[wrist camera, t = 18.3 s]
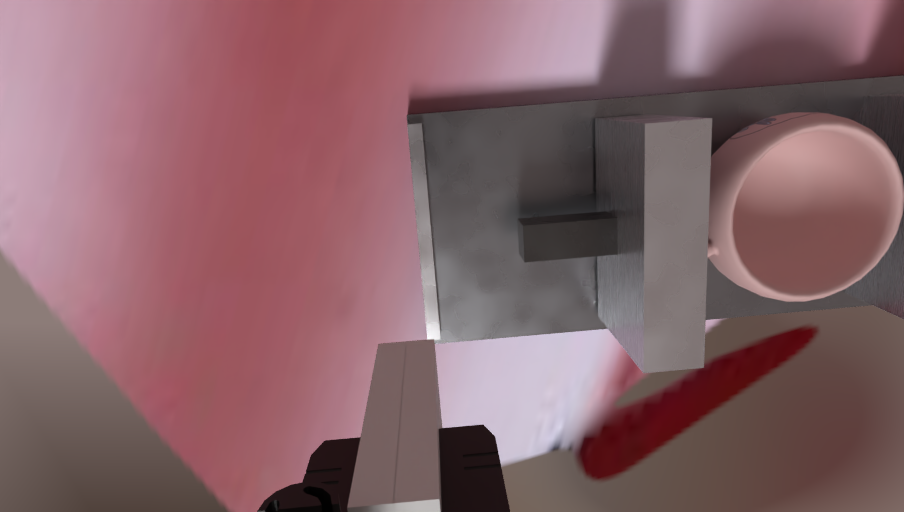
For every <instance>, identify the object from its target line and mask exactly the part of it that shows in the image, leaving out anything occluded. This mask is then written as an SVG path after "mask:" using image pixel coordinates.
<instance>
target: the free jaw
mask: <svg viewBox="0 0 904 512" xmlns="http://www.w3.org/2000/svg"><path fill="white" fill-rule="evenodd" d="M711 139H712V118H701V117H685V116H669V115H653V114H643V115H630V116H618V117H606V118H595V153H596V212H589V213H577V214H565V215H553V216H541V217H529V218H517V225H518V245H519V254H520V256H521V257H522V259H523V261H524V262H536V261H548V260H560V259H571V258H583V257H595V256H597V284H598V317H599V318H600V319H601V321H602V322H603V323H604V324H605V326H606V327H607V328H608V329H609V331H610V332H611V333H612V334H613V336H614V337H615V338H616V339H617V341H618V342H619V343H620V344H621V346H622V347H623V348H624V349H625V351H626V352H627V353H628V354H629V356H630V357H631V358H632V359H633V361H634V362H635V363H636V364H637V366H638V367H639V368H640V369H641V371H642V372H643V373H651V372H661V371H673V370H684V369H695V368H704V348H705V318H706V288H707V259H708V229H709V199H710V169H711Z"/></svg>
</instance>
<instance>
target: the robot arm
mask: <svg viewBox="0 0 904 512" xmlns="http://www.w3.org/2000/svg"><path fill="white" fill-rule="evenodd" d="M257 512H510V509H509V504H508V499H507V495H506V489H505V484H504V479H503V475H502V469H501V464H500V459H499V455H498V449H497V444H496V439H495V436H494V435H493V434H492V433H491V432H490V431H489V430H488V429H487V428H486V427H485V426H484V425H474V426H463V427H452V428H442V420H441V409H440V398H439V387H438V376H437V365H436V354H435V343H434V339H429V340H417V341H406V342H394V343H383V344H378V349H377V354H376V359H375V364H374V370H373V375H372V380H371V385H370V391H369V396H368V401H367V406H366V412H365V417H364V422H363V427H362V433H361V437H360V438H349V439H337V440H326V441H324V442H323V443H322V444H321V445H320V446H319V447H318V448H317V449H316V451H315V452H314V453H313V454H312V455H311V457H310V460H309V463H308V467H307V470H306V474H305V476H304V479H303V482H302V483H298V484H293V485H290V486H288V487H285V488H283V489H281V490H279V491H276V492H275V493H274V494H273V495H271V496H270V497H269V498H267V499H266V500H265V501H264V502H263V504H262V505H261V507H260V508H259V510H258V511H257Z"/></svg>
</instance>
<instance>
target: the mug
mask: <svg viewBox="0 0 904 512" xmlns="http://www.w3.org/2000/svg"><path fill="white" fill-rule="evenodd" d="M903 207H904V185H903V177H902V174H901V171H900V168H899V166H898V163H897V160H896V158H895V156H894V155H893V153H892V152H891V150H890V149H889V147H888V146H887V144H886V143H885V142H884V141H883V140H882V139H881V138H880V137H879V136H878V135H877V134H876V133H874V132H873V131H872V130H871V129H869V128H867V127H865V126H863V125H861V124H860V123H858V122H856V121H853V120H851V119H848V118H844V117H840V116H836V115H832V114H827V113H818V112H791V113H786V114H781V115H776V116H772V117H768V118H765V119H763V120H760V121H758V122H756V123H753V124H751V125H749V126H746V127H745V128H743V129H742V130H741V131H739V132H738V133H736V134H735V135H733V136H732V137H730V138H729V139H728V140H727V141H726V142H725V143H724V144H723V145H722V146H721V147H720V148H719V149H718V150H717V151H716V152H715V153H714V154H713V155H712V156H711V169H710V199H709V229H708V258H709V259H710V261H711V262H712V263H713V264H714V266H715V267H716V268H717V269H718V271H720V272H721V273H722V274H723V275H725V276H726V277H727V278H728V279H730V280H731V281H732V282H734V283H735V284H737V285H738V286H741V287H743V288H745V289H747V290H749V291H751V292H754V293H756V294H758V295H760V296H763V297H767V298H772V299H777V300H782V301H786V302H805V301H810V300H815V299H820V298H824V297H827V296H829V295H832V294H834V293H837V292H839V291H842V290H844V289H846V288H848V287H849V286H851V285H852V284H854V283H855V282H857V281H859V280H860V279H862V278H863V277H864V276H865V275H866V274H867V273H868V272H869V271H870V270H872V269H873V268H874V267H875V266H876V265H877V263H878V262H879V261H880V260H881V258H882V257H883V256H884V254H885V253H886V252H887V251H888V249H889V247H890V245H891V243H892V241H893V239H894V237H895V236H896V234H897V231H898V228H899V225H900V221H901V218H902V215H903Z"/></svg>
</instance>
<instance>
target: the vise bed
mask: <svg viewBox="0 0 904 512" xmlns="http://www.w3.org/2000/svg"><path fill="white" fill-rule="evenodd" d="M791 112H818V113H827V114H832V115H836V116H840V117H844V118H848V119H851V120H853V121H856V122H858V123H860V124H861V125H863V126H865V127H867V128H869V129H871V130H872V131H873V132H874V133H876V134H877V135H878V136H879V137H880V138H881V139H882V140H883V141H884V142H885V143H886V144H887V146H888V147H889V149H890V150H891V152H892V153H893V155H894V156H895V158H896V160H897V163H898V166H899V168H900V171H901V174H902V177H903V185H904V75H898V76H886V77H873V78H861V79H848V80H835V81H823V82H810V83H798V84H785V85H773V86H760V87H748V88H735V89H723V90H710V91H697V92H685V93H672V94H660V95H647V96H635V97H622V98H610V99H597V100H585V101H572V102H560V103H547V104H534V105H522V106H509V107H497V108H484V109H472V110H459V111H447V112H434V113H422V114H409V115H407V122H408V124H407V126H408V137H409V147H410V158H411V169H412V179H413V190H414V201H415V212H416V222H417V233H418V244H419V254H420V265H421V276H422V286H423V297H424V308H425V318H426V329H427V340H429V339H434V343H435V344H439V343H450V342H461V341H472V340H484V339H495V338H506V337H518V336H529V335H540V334H551V333H563V332H574V331H585V330H597V329H608V328H607V327H606V326H605V324H604V323H603V322H602V321H601V319H600V318H599V317H598V284H597V256H595V257H583V258H571V259H560V260H548V261H536V262H524V261H523V259H522V257H521V256H520V254H519V245H518V225H517V218H529V217H541V216H553V215H565V214H577V213H589V212H596V153H595V118H606V117H618V116H630V115H643V114H653V115H669V116H685V117H701V118H712V139H711V156H712V155H713V154H714V153H715V152H716V151H717V150H718V149H719V148H720V147H721V146H722V145H723V144H724V143H725V142H726V141H727V140H728V139H729V138H730V137H732V136H733V135H735V134H736V133H738V132H739V131H741V130H742V129H743V128H745V127H746V126H749V125H751V124H753V123H756V122H758V121H760V120H763V119H765V118H768V117H772V116H776V115H781V114H786V113H791ZM868 305H874V306H876V307H878V308H880V309H882V310H885V311H887V312H889V313H891V314H893V315H896V316H898V317H900V318H902V319H904V207H903V215H902V218H901V221H900V225H899V228H898V231H897V234H896V236H895V237H894V239H893V241H892V243H891V245H890V247H889V249H888V251H887V252H886V253H885V254H884V256H883V257H882V258H881V260H880V261H879V262H878V263H877V265H876V266H875V267H874V268H873V269H872V270H870V271H869V272H868V273H867V274H866V275H865V276H864V277H863V278H862V279H860V280H859V281H857V282H855V283H854V284H852V285H851V286H849V287H848V288H846V289H844V290H842V291H839V292H837V293H834V294H832V295H829V296H827V297H824V298H820V299H815V300H810V301H805V302H786V301H782V300H777V299H772V298H767V297H763V296H760V295H758V294H756V293H754V292H751V291H749V290H747V289H745V288H743V287H741V286H738V285H737V284H735V283H734V282H732V281H731V280H730V279H728V278H727V277H726V276H725V275H723V274H722V273H721V272H720V271H718V269H717V268H716V267H715V266H714V264H713V263H712V262H711V261H710V259H709V258H708V259H707V288H706V318H705V320H710V319H721V318H732V317H742V316H743V317H744V316H754V315H766V314H777V313H788V312H799V311H811V310H823V309H833V308H845V307H856V306H868Z"/></svg>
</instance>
